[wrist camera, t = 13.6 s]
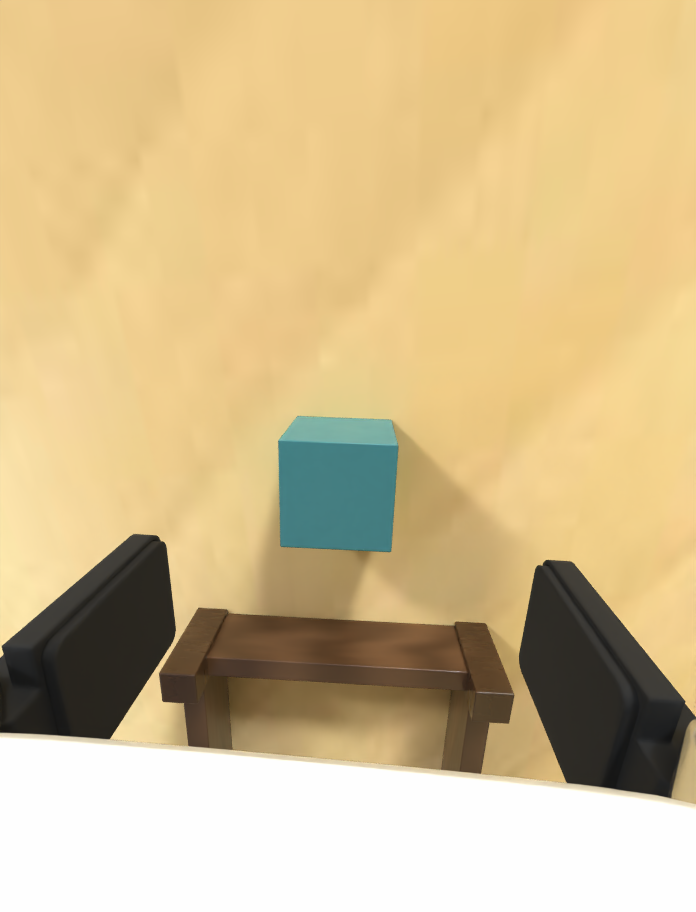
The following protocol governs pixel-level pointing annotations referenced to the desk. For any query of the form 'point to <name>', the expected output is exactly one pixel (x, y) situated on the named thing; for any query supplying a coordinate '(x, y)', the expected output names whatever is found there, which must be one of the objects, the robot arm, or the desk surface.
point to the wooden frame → (339, 670)
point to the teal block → (337, 483)
